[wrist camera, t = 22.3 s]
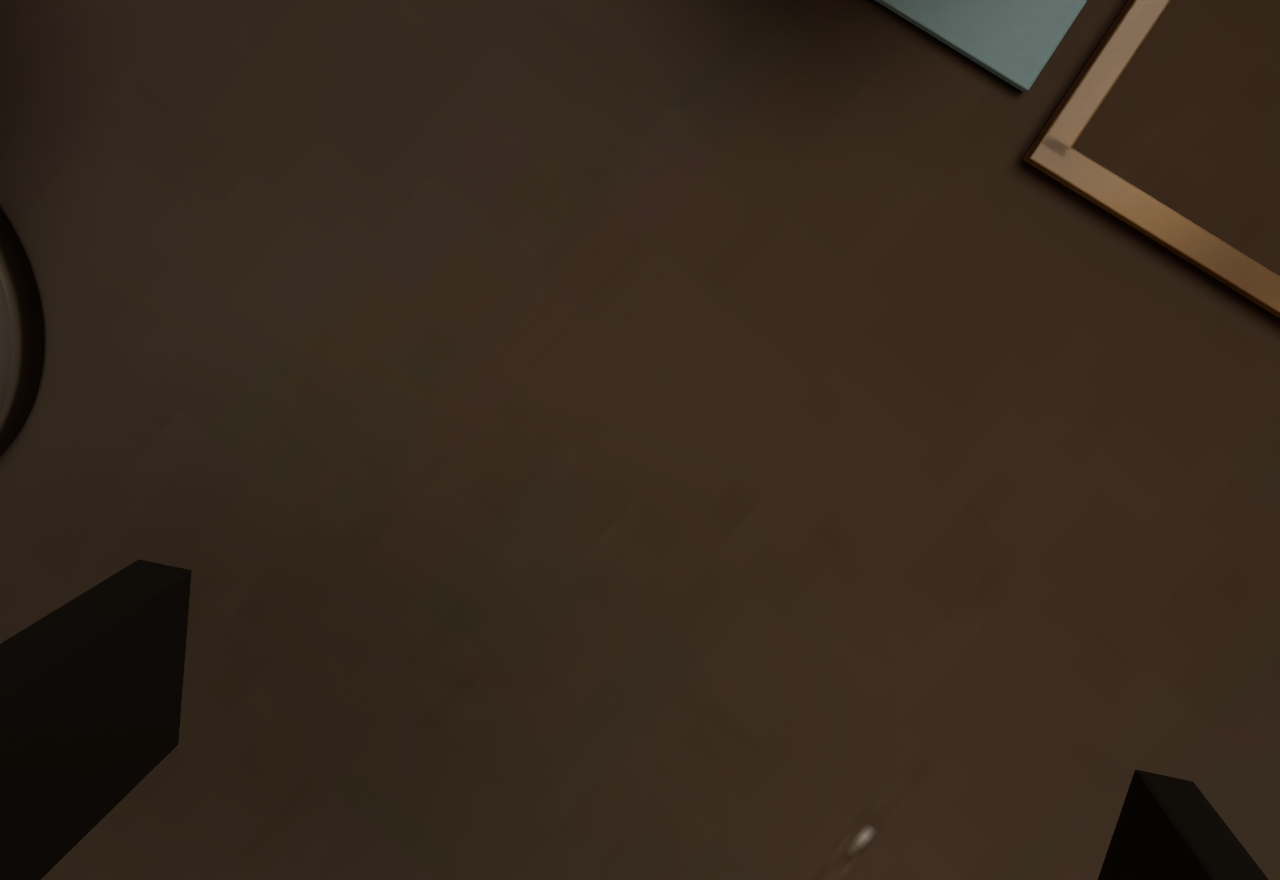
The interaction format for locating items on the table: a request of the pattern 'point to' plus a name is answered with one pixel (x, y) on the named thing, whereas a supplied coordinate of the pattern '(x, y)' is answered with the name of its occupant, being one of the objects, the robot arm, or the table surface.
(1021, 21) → the drying mat
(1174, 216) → the dish rack
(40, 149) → the table surface
